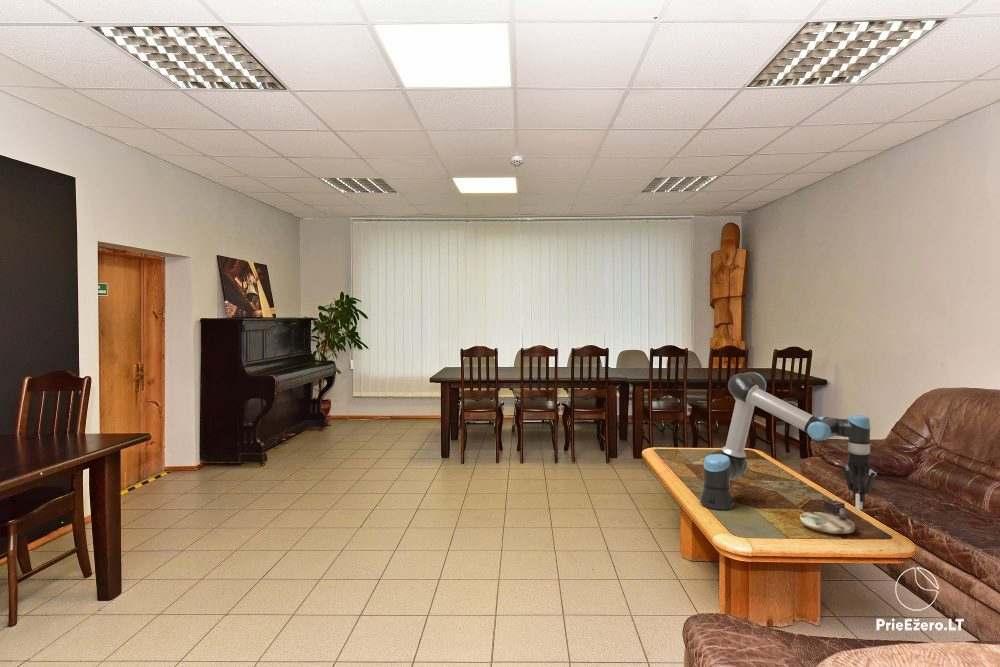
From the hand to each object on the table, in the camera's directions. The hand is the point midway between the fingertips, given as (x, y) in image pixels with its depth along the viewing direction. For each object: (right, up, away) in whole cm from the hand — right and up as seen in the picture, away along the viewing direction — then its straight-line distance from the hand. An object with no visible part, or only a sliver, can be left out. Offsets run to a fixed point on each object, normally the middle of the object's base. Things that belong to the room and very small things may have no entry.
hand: (859, 508), depth 227 cm
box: (0, -10, +17) cm, 20 cm away
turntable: (-11, -8, +5) cm, 14 cm away
